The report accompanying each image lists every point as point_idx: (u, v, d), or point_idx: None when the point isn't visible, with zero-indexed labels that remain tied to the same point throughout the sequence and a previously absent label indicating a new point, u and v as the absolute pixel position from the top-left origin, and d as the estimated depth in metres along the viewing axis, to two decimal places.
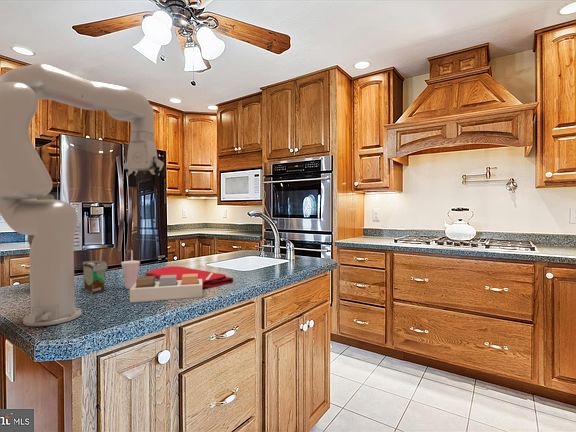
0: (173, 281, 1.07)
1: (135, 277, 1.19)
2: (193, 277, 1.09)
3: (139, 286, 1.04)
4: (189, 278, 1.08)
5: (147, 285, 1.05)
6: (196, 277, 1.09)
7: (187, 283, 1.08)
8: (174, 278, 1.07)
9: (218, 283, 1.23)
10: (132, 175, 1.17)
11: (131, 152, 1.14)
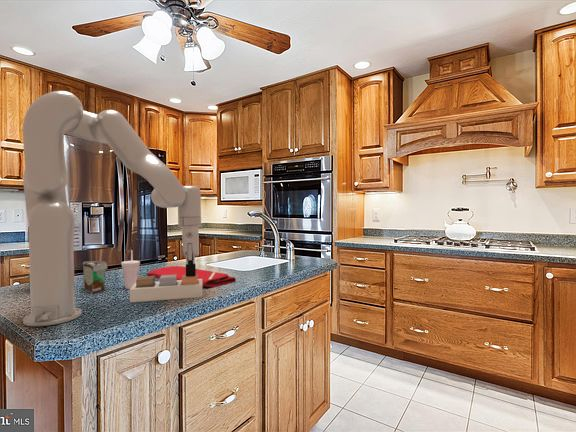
0: (173, 281, 1.07)
1: (135, 277, 1.19)
2: (193, 278, 1.09)
3: (139, 286, 1.04)
4: (189, 279, 1.08)
5: (147, 285, 1.05)
6: (196, 278, 1.09)
7: (187, 284, 1.08)
8: (174, 278, 1.07)
9: (221, 283, 1.24)
10: None
11: (198, 238, 1.09)
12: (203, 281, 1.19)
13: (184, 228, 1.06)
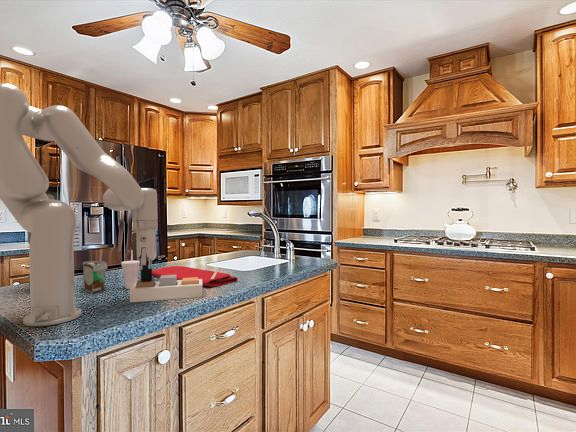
0: (173, 281, 1.07)
1: (135, 277, 1.19)
2: (193, 281, 1.09)
3: None
4: (189, 282, 1.08)
5: None
6: (196, 281, 1.09)
7: None
8: (174, 278, 1.07)
9: (223, 282, 1.25)
10: None
11: (153, 242, 1.05)
12: (205, 281, 1.19)
13: (138, 232, 1.02)
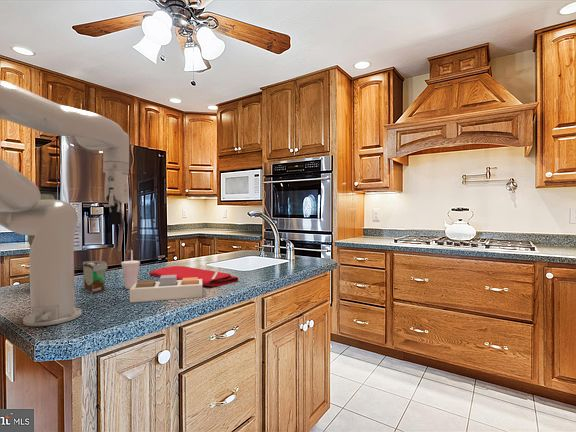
0: (173, 281, 1.07)
1: (135, 277, 1.19)
2: (193, 281, 1.09)
3: None
4: (189, 282, 1.08)
5: None
6: (196, 281, 1.09)
7: None
8: (174, 278, 1.07)
9: (224, 282, 1.25)
10: None
11: (123, 184, 1.05)
12: (206, 281, 1.20)
13: (106, 172, 1.02)
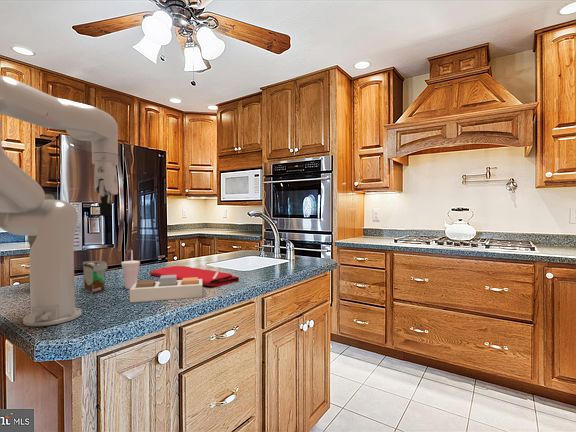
0: (173, 281, 1.07)
1: (135, 277, 1.19)
2: (193, 281, 1.09)
3: None
4: (189, 282, 1.08)
5: None
6: (196, 281, 1.09)
7: None
8: (174, 278, 1.07)
9: (224, 282, 1.25)
10: None
11: (113, 175, 1.05)
12: (207, 280, 1.20)
13: (96, 163, 1.02)
